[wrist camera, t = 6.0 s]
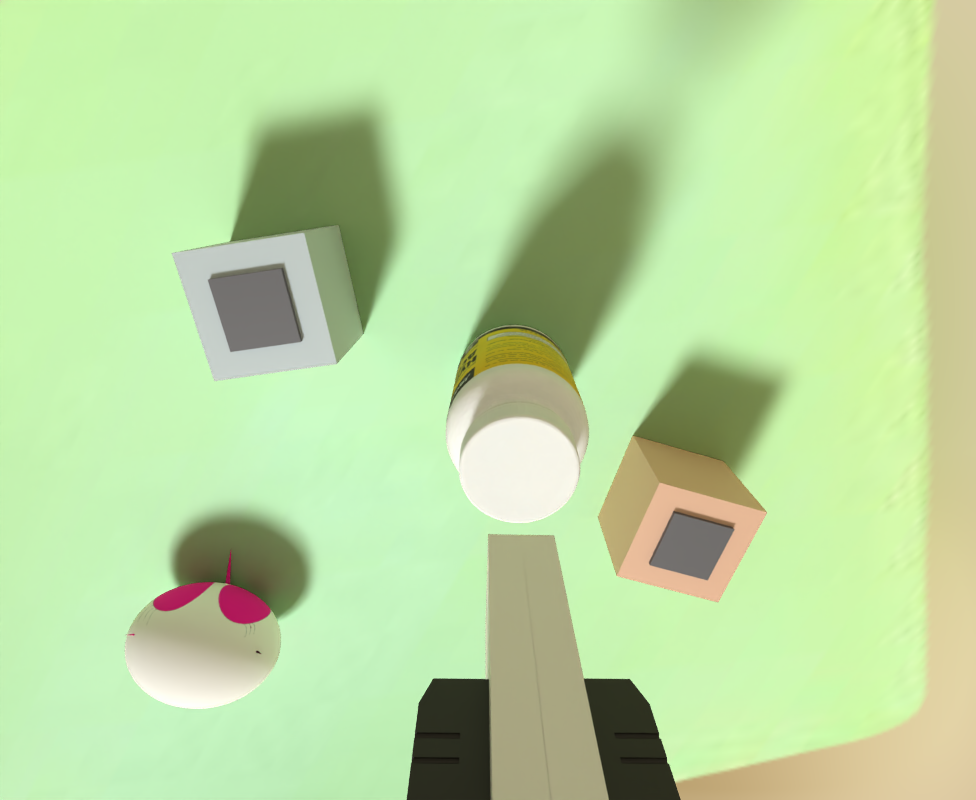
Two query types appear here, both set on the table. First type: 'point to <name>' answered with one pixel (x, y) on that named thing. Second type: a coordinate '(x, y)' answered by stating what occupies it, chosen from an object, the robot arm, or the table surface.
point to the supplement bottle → (516, 425)
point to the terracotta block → (678, 519)
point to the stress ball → (203, 645)
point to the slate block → (272, 302)
